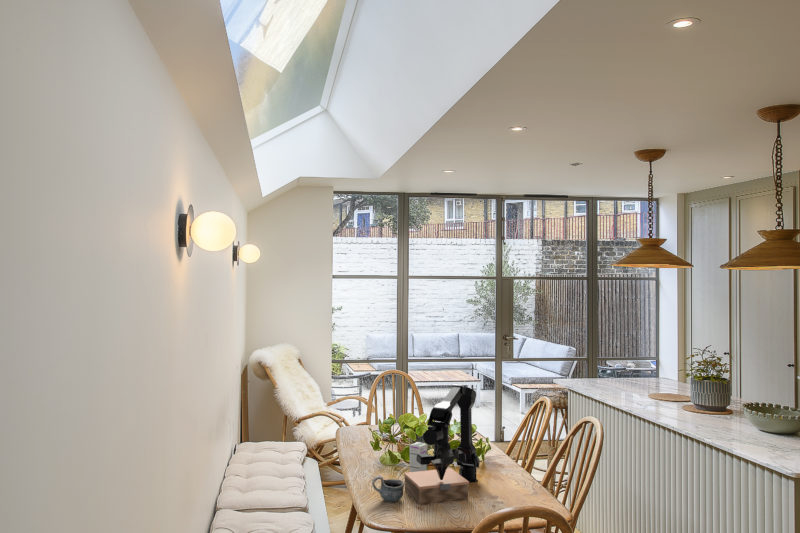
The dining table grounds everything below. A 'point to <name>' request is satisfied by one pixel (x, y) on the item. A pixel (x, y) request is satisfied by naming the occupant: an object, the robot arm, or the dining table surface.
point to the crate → (436, 493)
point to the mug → (390, 489)
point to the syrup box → (414, 451)
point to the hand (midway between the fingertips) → (441, 479)
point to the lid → (435, 479)
